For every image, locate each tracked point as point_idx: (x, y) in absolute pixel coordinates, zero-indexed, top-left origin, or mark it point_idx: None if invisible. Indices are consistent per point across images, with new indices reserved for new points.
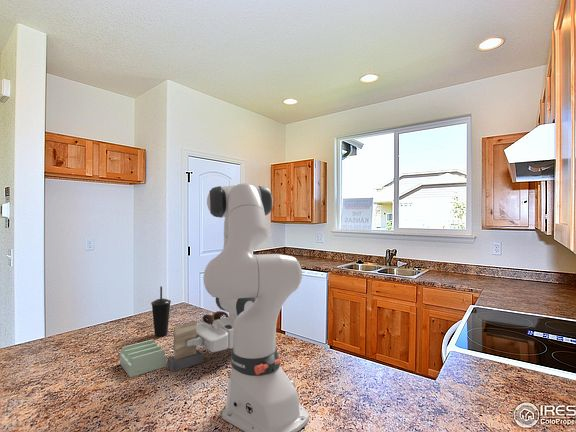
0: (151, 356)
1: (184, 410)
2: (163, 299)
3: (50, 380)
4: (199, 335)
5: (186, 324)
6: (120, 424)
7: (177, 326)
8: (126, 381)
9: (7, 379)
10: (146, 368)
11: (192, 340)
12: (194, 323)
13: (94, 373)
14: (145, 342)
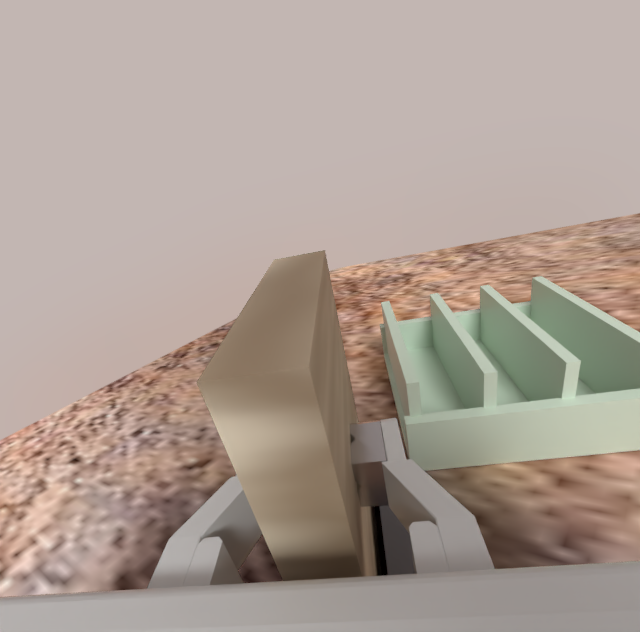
0: (394, 354)
1: (56, 446)
2: None
3: (476, 266)
4: (223, 586)
5: (292, 298)
6: (185, 348)
7: (307, 261)
8: (364, 353)
9: (515, 237)
10: (396, 383)
11: (235, 481)
12: (227, 361)
13: (476, 304)
14: (607, 327)
